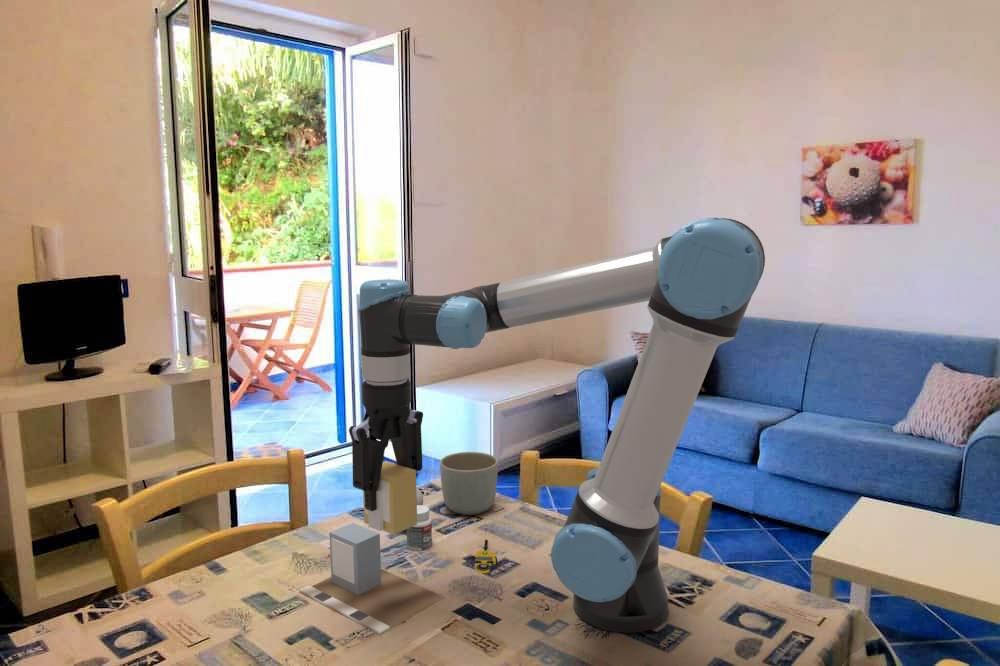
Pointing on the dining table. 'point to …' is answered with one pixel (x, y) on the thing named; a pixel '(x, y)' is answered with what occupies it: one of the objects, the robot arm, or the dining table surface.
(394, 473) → the tea box
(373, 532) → the slate box
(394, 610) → the shelf board
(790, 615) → the dining table surface
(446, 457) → the planter
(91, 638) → the dining table surface
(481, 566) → the yellow walkie talkie
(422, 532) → the pill bottle
